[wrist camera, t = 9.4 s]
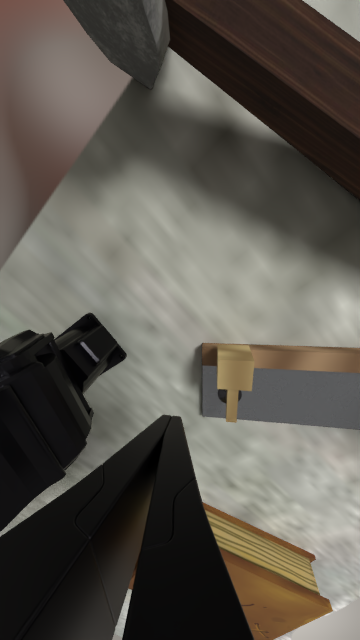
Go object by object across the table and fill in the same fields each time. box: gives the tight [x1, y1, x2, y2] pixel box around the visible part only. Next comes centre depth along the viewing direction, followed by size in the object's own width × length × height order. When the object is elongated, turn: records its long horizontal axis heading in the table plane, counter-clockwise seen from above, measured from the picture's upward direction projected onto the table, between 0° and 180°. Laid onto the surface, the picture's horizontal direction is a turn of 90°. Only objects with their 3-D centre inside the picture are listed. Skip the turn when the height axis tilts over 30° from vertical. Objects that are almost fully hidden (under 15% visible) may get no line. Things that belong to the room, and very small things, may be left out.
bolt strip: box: [203, 366, 360, 430], centre depth 22 cm, size 27×7×1 cm, turn 92°
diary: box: [128, 502, 333, 640], centre depth 32 cm, size 23×19×6 cm
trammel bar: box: [202, 343, 360, 422], centre depth 19 cm, size 27×8×4 cm, turn 92°
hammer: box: [64, 0, 360, 200], centre depth 12 cm, size 5×11×30 cm
